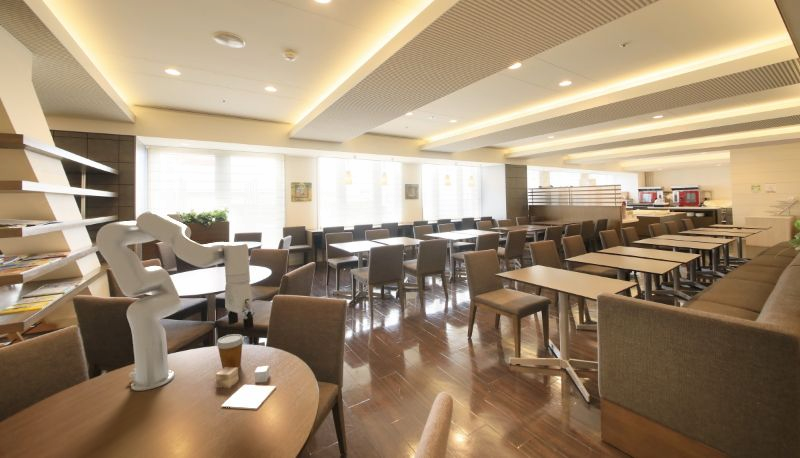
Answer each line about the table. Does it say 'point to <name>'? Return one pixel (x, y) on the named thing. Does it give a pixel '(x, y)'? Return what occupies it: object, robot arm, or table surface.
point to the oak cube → (227, 377)
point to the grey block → (262, 374)
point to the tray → (249, 397)
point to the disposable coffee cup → (230, 350)
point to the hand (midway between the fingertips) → (240, 326)
